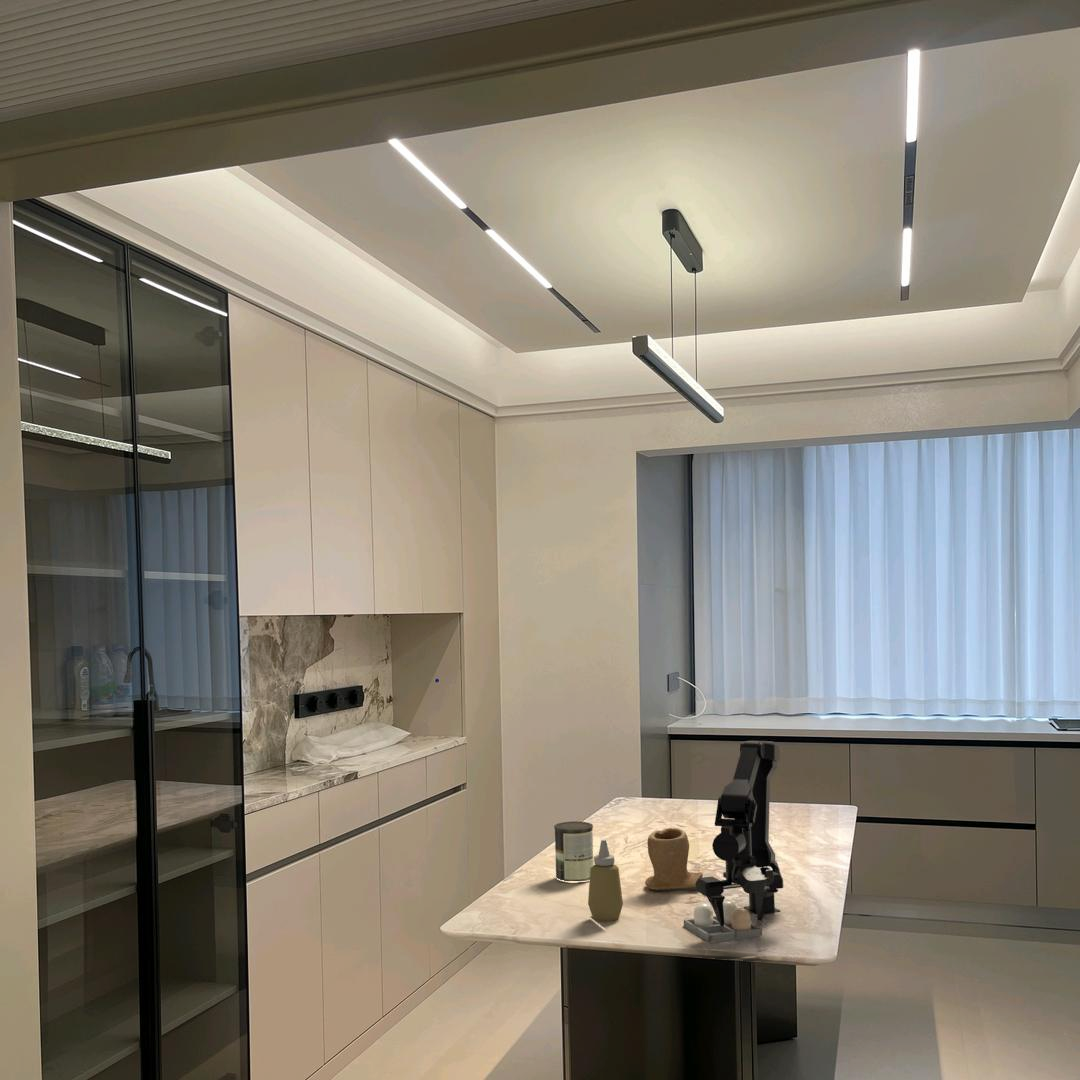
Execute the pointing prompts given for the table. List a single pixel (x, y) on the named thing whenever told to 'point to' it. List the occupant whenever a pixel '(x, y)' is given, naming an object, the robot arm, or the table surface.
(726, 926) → the egg carton
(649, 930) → the table surface
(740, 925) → the brown egg
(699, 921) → the white egg back
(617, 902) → the squeeze bottle
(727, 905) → the white egg left
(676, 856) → the stone cup
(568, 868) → the coffee can
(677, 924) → the table surface
